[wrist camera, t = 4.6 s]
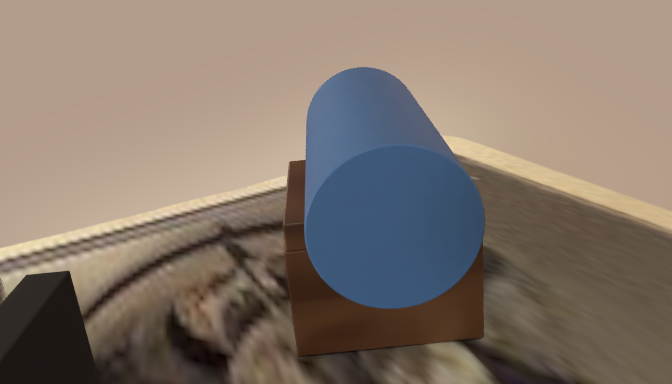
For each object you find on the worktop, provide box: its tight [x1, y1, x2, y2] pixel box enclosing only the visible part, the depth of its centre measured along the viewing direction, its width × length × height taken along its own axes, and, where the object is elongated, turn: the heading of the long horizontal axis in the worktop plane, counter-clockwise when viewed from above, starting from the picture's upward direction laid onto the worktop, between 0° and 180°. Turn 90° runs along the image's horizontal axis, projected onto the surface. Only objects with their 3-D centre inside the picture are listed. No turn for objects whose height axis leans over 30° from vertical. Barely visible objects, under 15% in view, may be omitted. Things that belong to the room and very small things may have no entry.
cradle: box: [283, 160, 484, 356], centre depth 29 cm, size 8×8×6 cm
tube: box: [304, 67, 485, 309], centre depth 25 cm, size 13×6×6 cm, turn 2°
